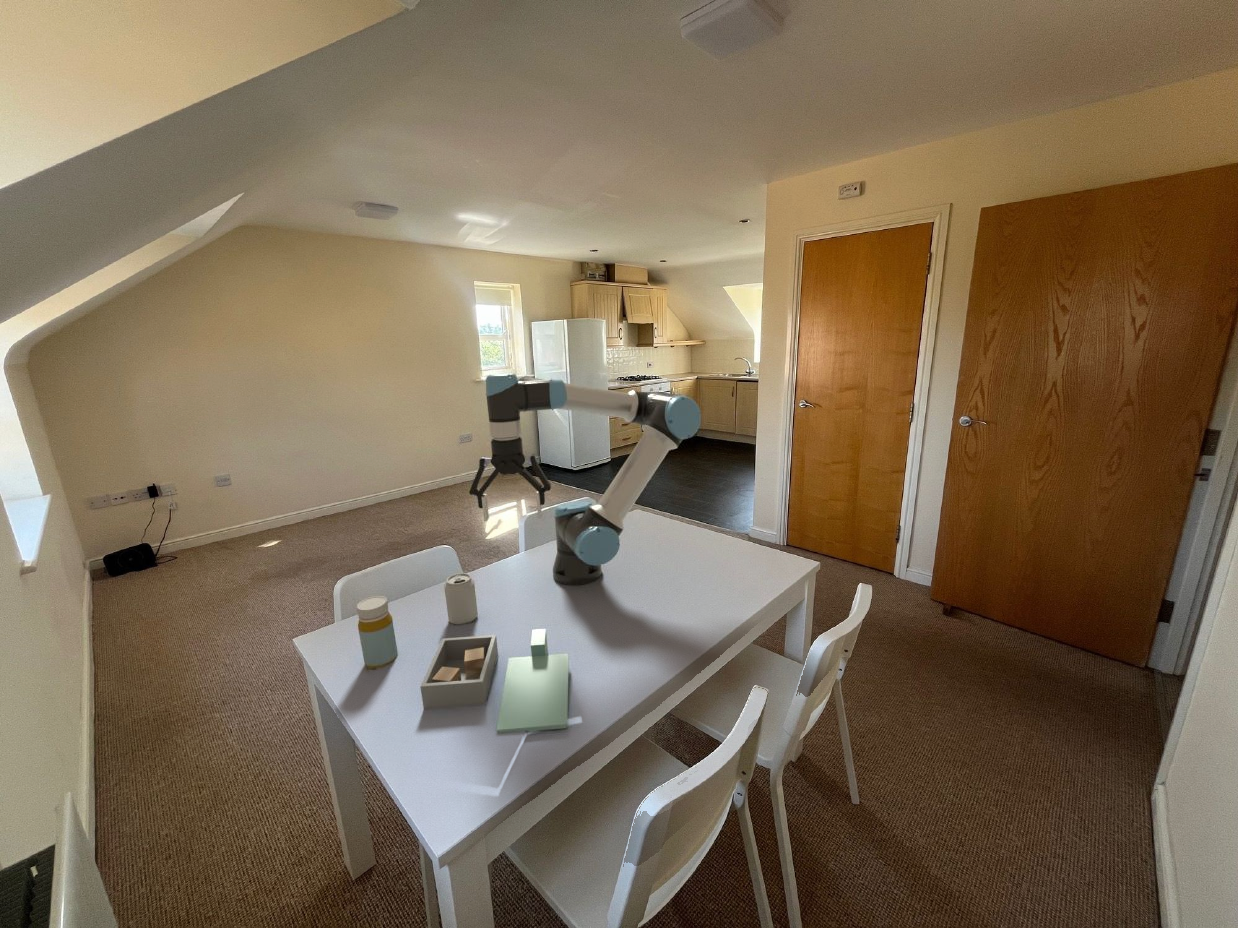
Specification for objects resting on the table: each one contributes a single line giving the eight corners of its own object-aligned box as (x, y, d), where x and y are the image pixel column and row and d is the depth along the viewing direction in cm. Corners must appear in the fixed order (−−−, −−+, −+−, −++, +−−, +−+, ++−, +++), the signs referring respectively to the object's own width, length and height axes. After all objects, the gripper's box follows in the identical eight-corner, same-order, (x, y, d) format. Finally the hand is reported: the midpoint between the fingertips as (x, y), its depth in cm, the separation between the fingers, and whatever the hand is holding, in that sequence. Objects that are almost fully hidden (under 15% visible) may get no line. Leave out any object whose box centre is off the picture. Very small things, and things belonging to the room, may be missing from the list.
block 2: (485, 662, 111) (483, 647, 110) (485, 673, 107) (483, 657, 106) (467, 666, 110) (465, 650, 109) (466, 677, 106) (464, 661, 105)
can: (451, 629, 126) (445, 587, 123) (446, 616, 132) (441, 575, 129) (480, 621, 129) (476, 579, 126) (475, 608, 135) (470, 568, 133)
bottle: (376, 674, 109) (366, 614, 106) (358, 664, 113) (347, 606, 109) (404, 657, 115) (395, 599, 111) (386, 648, 119) (377, 592, 115)
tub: (498, 657, 114) (496, 634, 112) (485, 707, 98) (482, 681, 97) (445, 661, 113) (442, 638, 112) (424, 712, 98) (420, 686, 96)
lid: (569, 651, 114) (568, 627, 112) (568, 739, 93) (566, 711, 90) (513, 655, 114) (510, 631, 111) (498, 745, 92) (494, 717, 90)
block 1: (461, 684, 104) (459, 668, 103) (452, 697, 100) (450, 680, 99) (444, 682, 105) (442, 666, 104) (434, 695, 101) (431, 679, 100)
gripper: (557, 432, 126) (562, 510, 131) (458, 436, 125) (467, 515, 130) (556, 437, 119) (561, 520, 124) (450, 442, 117) (460, 526, 122)
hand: (513, 518), depth 127 cm, fingers open, 13 cm apart
